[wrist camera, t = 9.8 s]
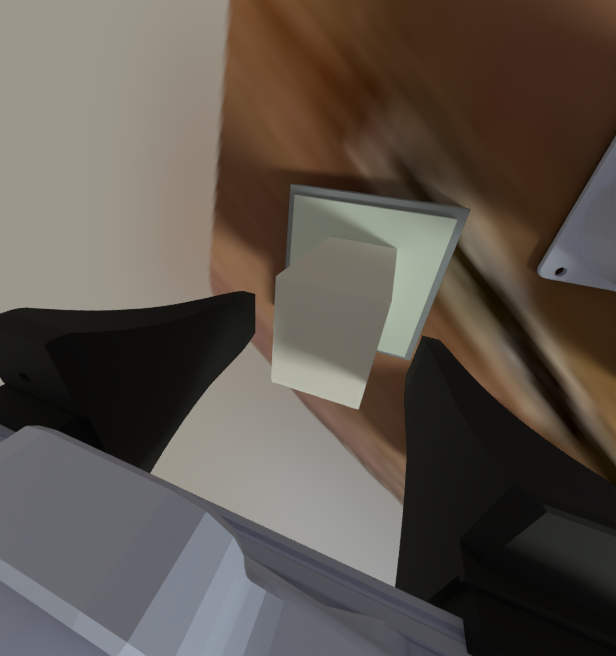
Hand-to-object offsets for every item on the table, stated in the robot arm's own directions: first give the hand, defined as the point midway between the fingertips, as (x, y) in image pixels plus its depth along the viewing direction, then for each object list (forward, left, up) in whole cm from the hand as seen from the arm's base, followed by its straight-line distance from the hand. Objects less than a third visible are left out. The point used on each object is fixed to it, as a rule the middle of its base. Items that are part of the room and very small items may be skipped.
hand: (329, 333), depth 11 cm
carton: (0, 0, -7) cm, 7 cm away
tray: (0, 0, -9) cm, 9 cm away
